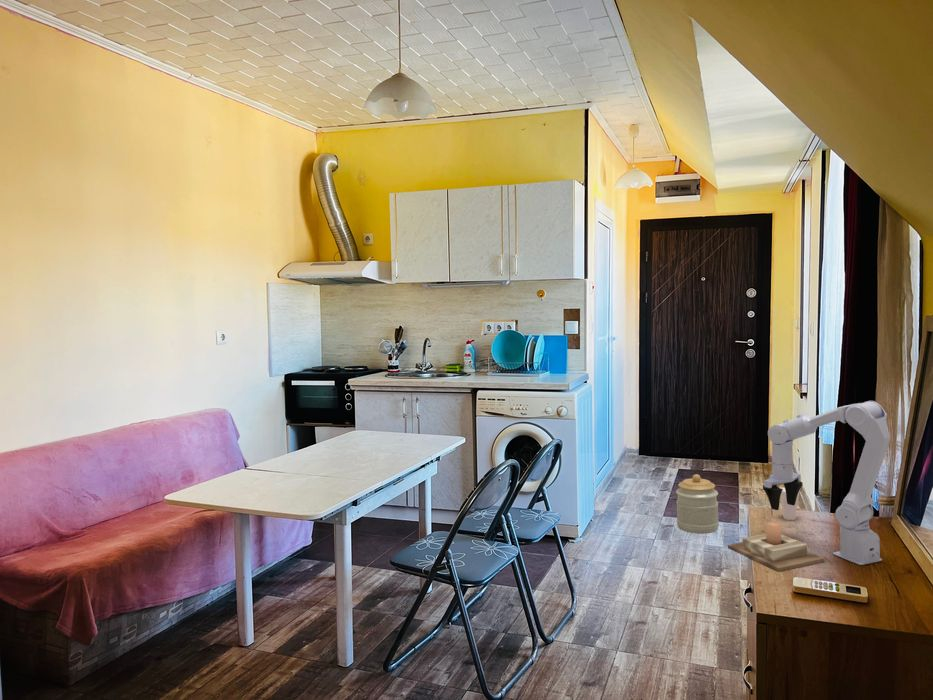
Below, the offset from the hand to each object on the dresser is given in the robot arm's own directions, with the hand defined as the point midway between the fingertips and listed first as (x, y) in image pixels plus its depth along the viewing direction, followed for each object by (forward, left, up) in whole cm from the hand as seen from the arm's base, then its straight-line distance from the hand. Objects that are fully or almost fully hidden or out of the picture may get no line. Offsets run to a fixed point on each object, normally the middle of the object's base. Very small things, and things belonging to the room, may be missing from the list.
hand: (783, 506), depth 212 cm
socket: (-9, +12, -10) cm, 18 cm away
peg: (-9, +12, -9) cm, 17 cm away
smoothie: (+14, -16, -10) cm, 24 cm away
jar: (+20, +16, -10) cm, 28 cm away
